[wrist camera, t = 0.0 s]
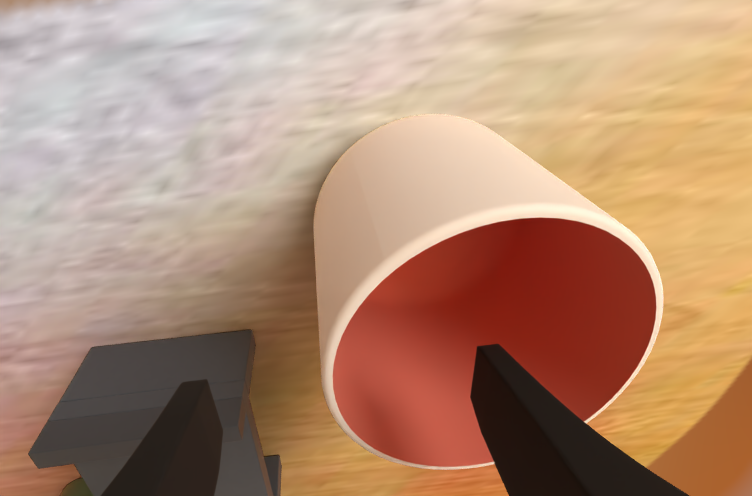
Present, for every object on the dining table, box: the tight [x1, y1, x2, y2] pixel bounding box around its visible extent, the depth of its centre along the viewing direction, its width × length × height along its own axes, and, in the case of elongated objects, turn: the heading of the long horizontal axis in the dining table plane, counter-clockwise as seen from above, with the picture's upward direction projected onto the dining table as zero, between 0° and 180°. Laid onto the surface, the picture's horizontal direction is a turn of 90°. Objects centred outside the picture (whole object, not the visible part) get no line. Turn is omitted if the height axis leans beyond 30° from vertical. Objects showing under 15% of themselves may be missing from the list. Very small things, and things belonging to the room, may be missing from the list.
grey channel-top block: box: [28, 330, 282, 496], centre depth 23 cm, size 12×8×6 cm, turn 1°
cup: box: [314, 114, 663, 470], centre depth 17 cm, size 10×10×10 cm
